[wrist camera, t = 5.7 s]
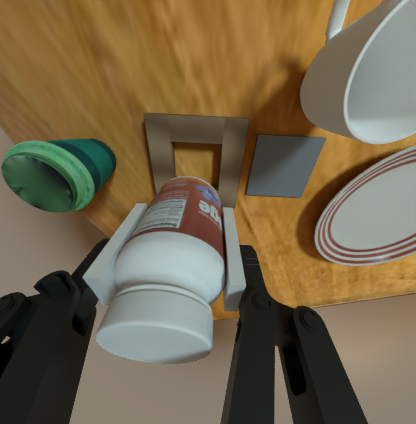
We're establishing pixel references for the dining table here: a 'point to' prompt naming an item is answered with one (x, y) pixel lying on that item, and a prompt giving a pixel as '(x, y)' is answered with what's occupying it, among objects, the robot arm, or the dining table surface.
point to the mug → (365, 75)
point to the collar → (198, 133)
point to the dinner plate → (372, 215)
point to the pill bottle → (168, 278)
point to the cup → (58, 172)
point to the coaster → (283, 165)
